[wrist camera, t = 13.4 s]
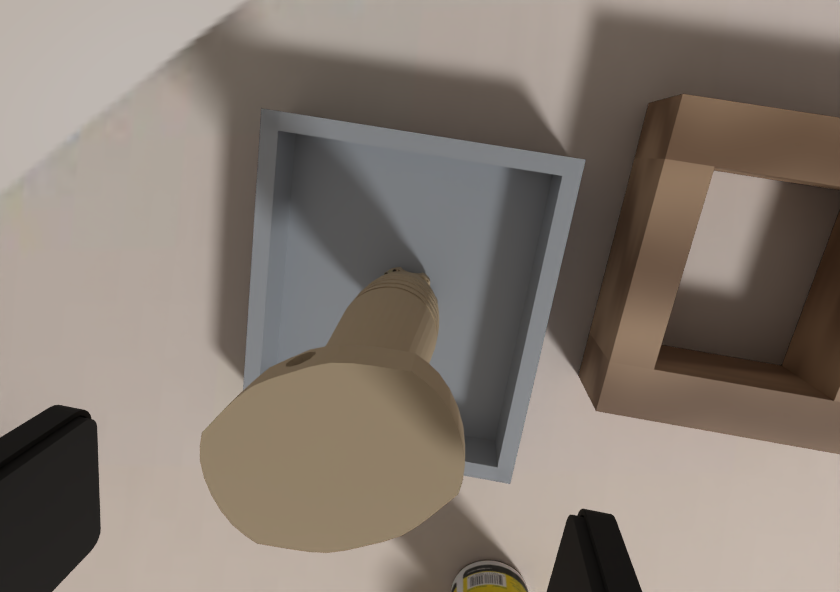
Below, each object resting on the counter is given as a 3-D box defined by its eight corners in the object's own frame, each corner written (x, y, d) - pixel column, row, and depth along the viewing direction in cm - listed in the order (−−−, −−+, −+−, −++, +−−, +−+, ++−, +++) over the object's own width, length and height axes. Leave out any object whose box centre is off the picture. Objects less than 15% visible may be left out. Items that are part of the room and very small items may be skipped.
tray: (287, 114, 26) (261, 108, 22) (569, 158, 25) (585, 159, 22) (265, 402, 30) (240, 434, 27) (505, 446, 30) (510, 483, 26)
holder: (648, 103, 24) (682, 93, 20) (912, 143, 24) (997, 141, 20) (578, 375, 28) (596, 411, 24) (804, 415, 28) (858, 457, 24)
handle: (331, 271, 27) (168, 409, 12) (450, 230, 26) (422, 332, 11) (364, 355, 28) (250, 572, 13) (480, 320, 27) (490, 516, 12)
